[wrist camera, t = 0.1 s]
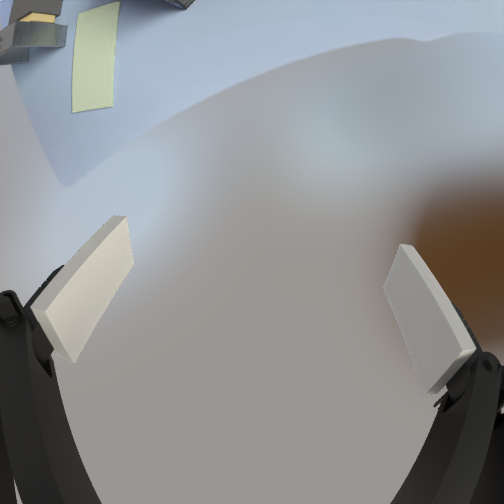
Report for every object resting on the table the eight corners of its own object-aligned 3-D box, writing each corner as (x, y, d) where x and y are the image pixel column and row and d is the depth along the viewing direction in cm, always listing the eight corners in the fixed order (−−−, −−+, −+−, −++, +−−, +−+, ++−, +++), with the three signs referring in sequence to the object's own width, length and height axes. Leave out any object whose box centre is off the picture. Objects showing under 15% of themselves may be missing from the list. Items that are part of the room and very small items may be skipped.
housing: (26, 44, 24) (-26, 48, 13) (67, 25, 24) (11, 20, 13) (25, 62, 27) (-28, 70, 15) (65, 46, 26) (7, 46, 15)
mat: (79, 14, 24) (78, 13, 23) (121, 1, 23) (119, 0, 23) (73, 112, 33) (72, 112, 33) (113, 106, 33) (111, 106, 33)
